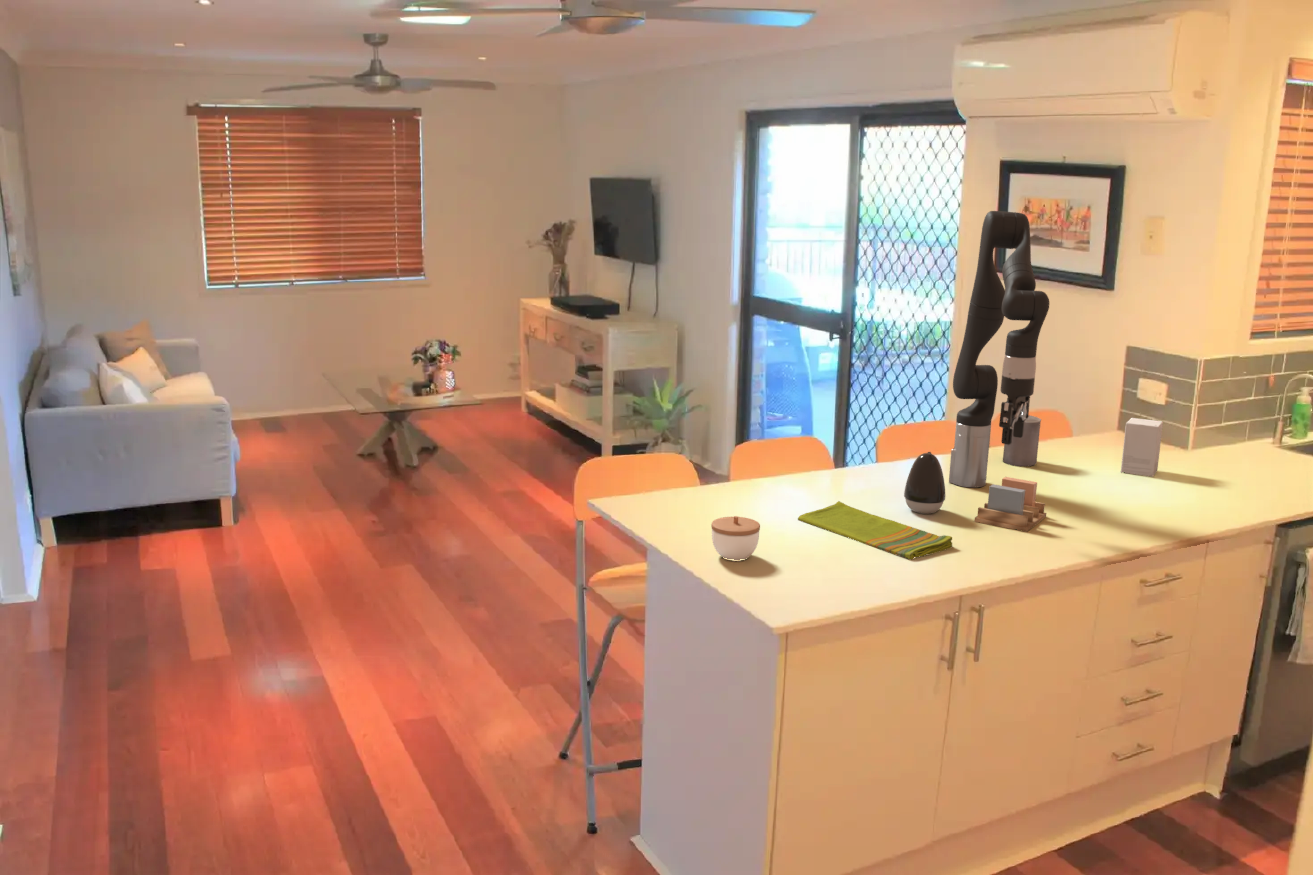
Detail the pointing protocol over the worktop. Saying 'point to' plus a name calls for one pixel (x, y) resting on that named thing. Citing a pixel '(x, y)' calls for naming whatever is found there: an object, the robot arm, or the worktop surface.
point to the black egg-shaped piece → (925, 485)
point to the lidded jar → (735, 536)
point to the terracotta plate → (1023, 488)
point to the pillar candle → (1024, 445)
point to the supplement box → (1141, 446)
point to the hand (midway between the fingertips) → (1012, 440)
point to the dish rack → (1012, 517)
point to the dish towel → (876, 531)
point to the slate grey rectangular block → (1006, 499)
